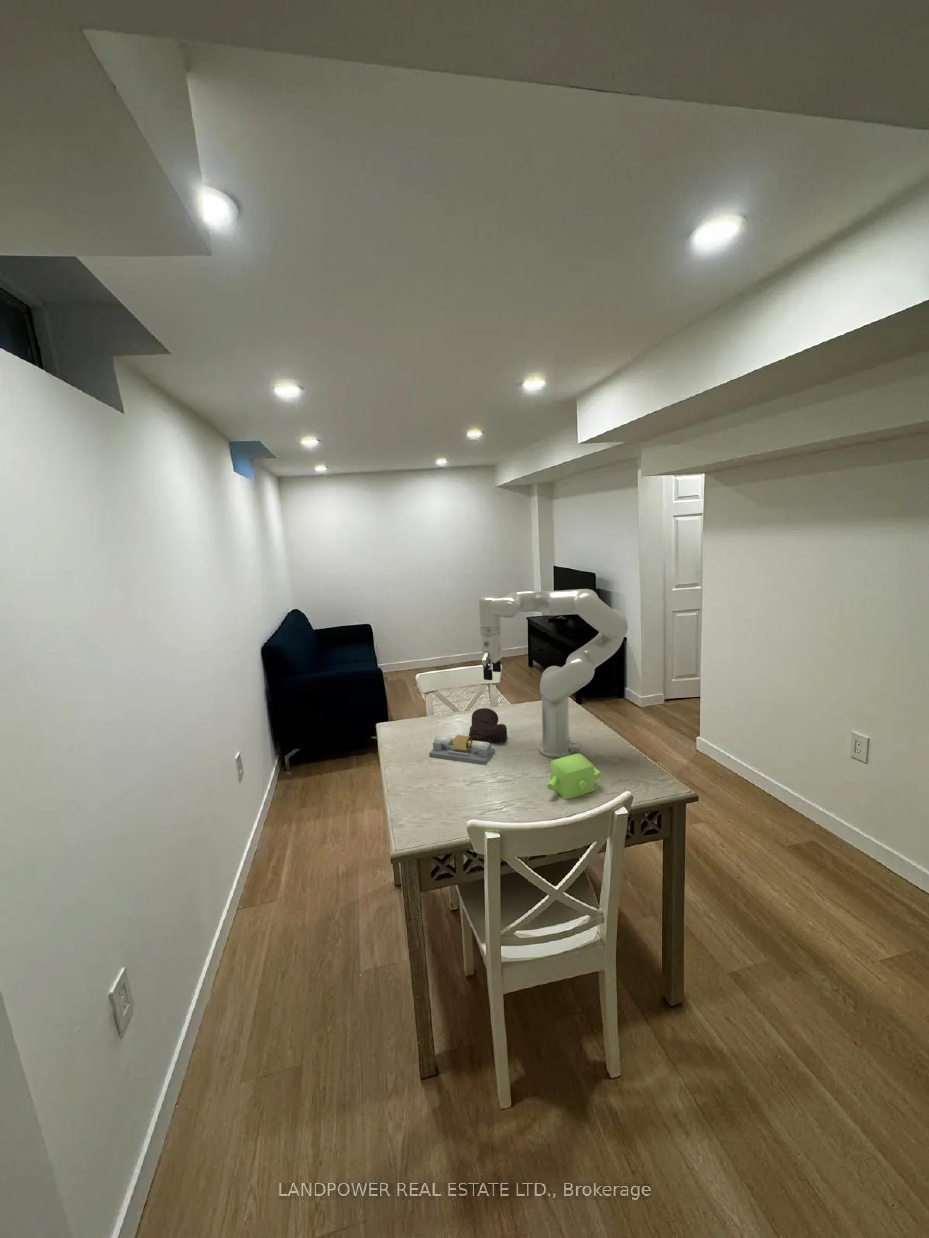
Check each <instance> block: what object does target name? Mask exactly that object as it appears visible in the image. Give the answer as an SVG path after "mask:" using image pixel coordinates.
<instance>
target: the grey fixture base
mask: <svg viewBox="0 0 929 1238" xmlns="http://www.w3.org/2000/svg"><path fill="white" fill-rule="evenodd" d="M452 739H453V737H450V736H448V737H447V736H443V735H442V736H441V735H435V737H434V739H433V742H432V750H430V752H429V753H428V754H429V755H428V756H429V758H436V759H444V760H450V761H457V762H463V763H469V764H475V765H476V764H478V765H484V766H486V765H487V763H488V762H490V761H491V758H492V757H493V755H494V754H495V753H496V752H495V751H496V750H495V749H496V748H493V747H492V745H491V744H492V743H490V741H489V742H488V741H487V742H486V741H479V740H471V741H472V745H471V749H470V750H469V752H468V753H462V752H455V751H454V749H453V745H452V744H451V741H452Z"/></svg>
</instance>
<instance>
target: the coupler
mask: <svg viewBox="0 0 929 1238" xmlns="http://www.w3.org/2000/svg"><path fill="white" fill-rule="evenodd" d="M472 741H473V740H471V739H470V736H469V735H462V734H457V735H456V736H455V737H454V738H452V741H451V744H452V745H453V749H454V751H455V752H462V753H468V752H469V750H470V749H471V745H472Z"/></svg>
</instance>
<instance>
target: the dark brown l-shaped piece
mask: <svg viewBox="0 0 929 1238" xmlns="http://www.w3.org/2000/svg"><path fill="white" fill-rule="evenodd" d="M468 736H470V740H471V741H481V742H485V741H489V742H493V743H504V742H506V741H507V739H508V730H507V725H506V724H503V723H499V715H498V713H496V711H495V710H493V709H491V708H487V707H484V708H483V707H482V708H477V709H475V710H474V711H473V713H472V714H471V725H470V727H469V733H468Z"/></svg>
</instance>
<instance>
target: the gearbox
mask: <svg viewBox="0 0 929 1238" xmlns="http://www.w3.org/2000/svg"><path fill="white" fill-rule="evenodd" d="M601 777H602V772H601V771H600V770H599V769H597V767H595V765H594V764H593V763H592V762H591V761H590V760H589V759H587V758H586V757H585V756H584V755H582V754H581V753H572V754H570V755H568V756H565V757H559V758H556V759H552V760H550V781H549V783H548V784H547V786H546V787H547V789H548V790H550V791H553V790H554V791H556V793H557V794H559V795H560V796H561V797H562V798H563V799H565V800H569V799H574V798H575V797H579V796H582V795H586V794H588V793H591V792H593V791H594V790H595V780H597V779H600V778H601Z"/></svg>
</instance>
